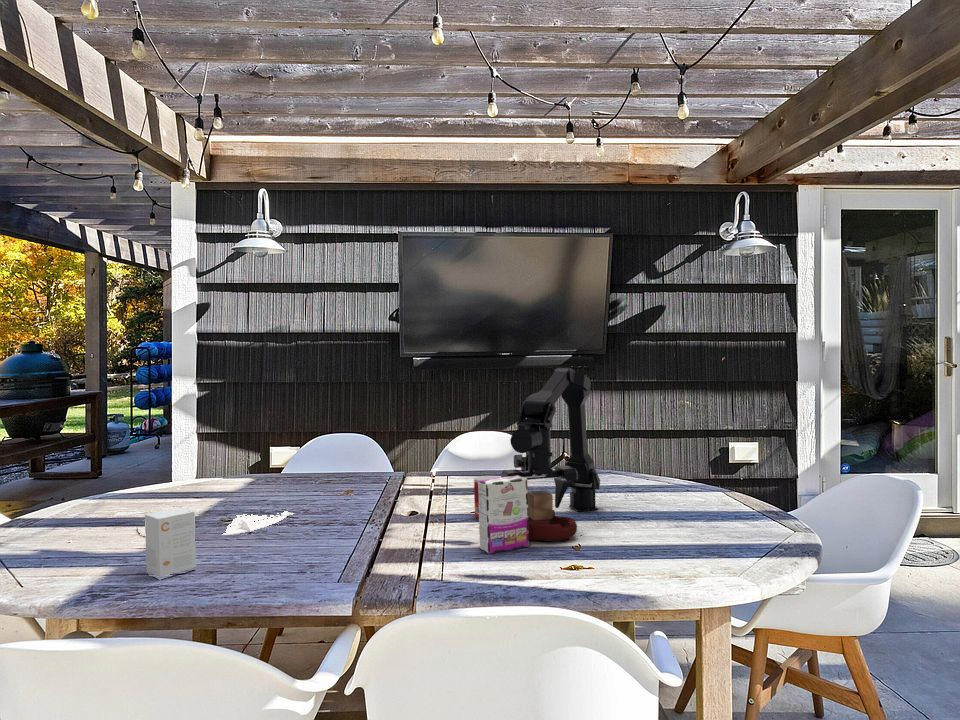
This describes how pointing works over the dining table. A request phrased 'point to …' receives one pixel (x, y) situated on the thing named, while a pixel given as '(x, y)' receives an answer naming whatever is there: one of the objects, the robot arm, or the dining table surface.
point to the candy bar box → (503, 514)
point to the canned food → (477, 492)
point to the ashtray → (552, 529)
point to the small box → (170, 541)
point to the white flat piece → (248, 523)
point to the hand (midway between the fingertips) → (540, 509)
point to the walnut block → (540, 505)
